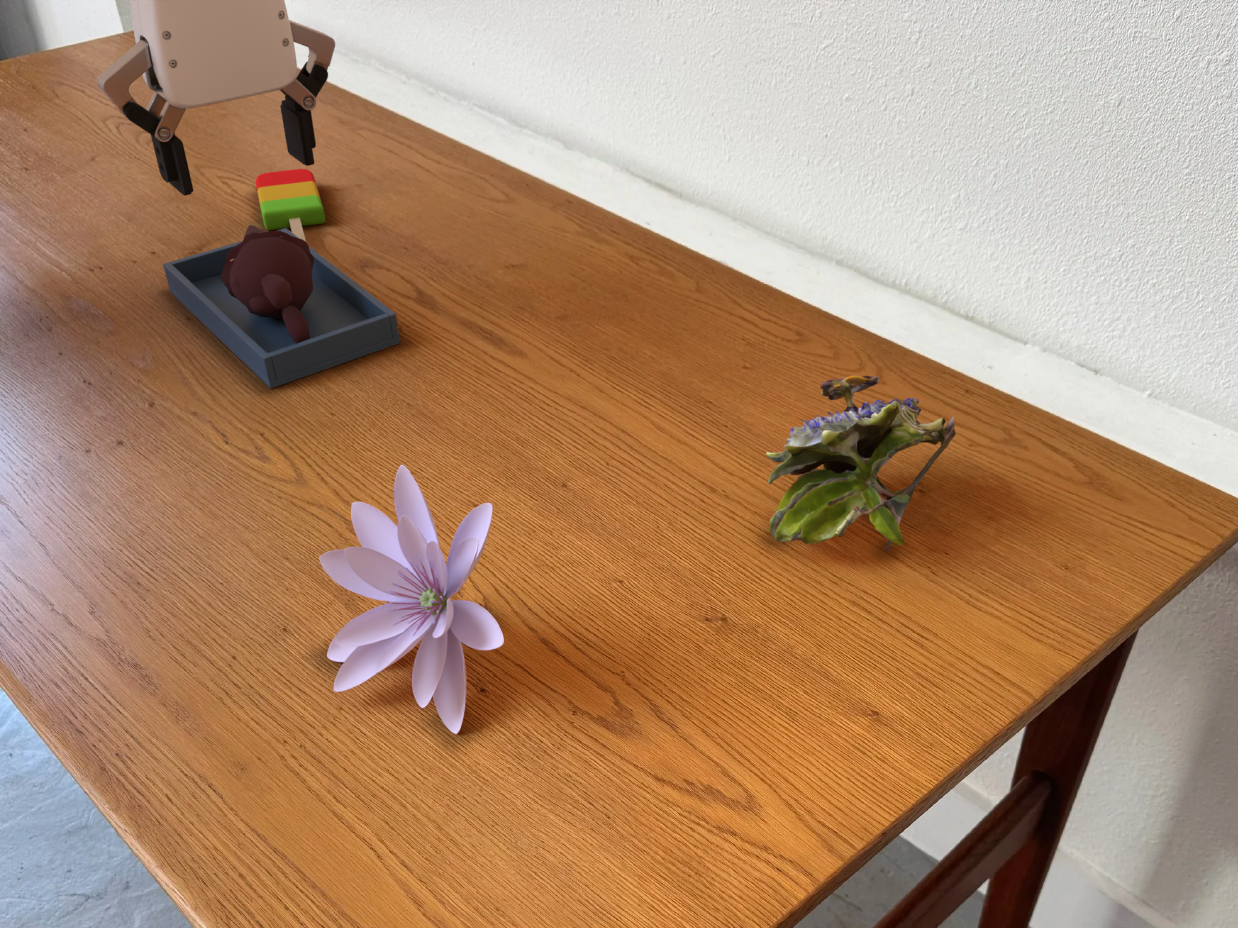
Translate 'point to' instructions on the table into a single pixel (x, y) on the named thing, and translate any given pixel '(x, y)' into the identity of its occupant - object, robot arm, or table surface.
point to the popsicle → (289, 200)
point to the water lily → (412, 599)
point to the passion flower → (850, 465)
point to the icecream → (272, 277)
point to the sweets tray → (333, 311)
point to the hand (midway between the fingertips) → (242, 173)
